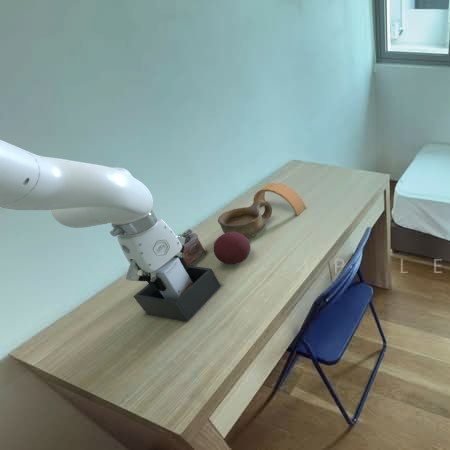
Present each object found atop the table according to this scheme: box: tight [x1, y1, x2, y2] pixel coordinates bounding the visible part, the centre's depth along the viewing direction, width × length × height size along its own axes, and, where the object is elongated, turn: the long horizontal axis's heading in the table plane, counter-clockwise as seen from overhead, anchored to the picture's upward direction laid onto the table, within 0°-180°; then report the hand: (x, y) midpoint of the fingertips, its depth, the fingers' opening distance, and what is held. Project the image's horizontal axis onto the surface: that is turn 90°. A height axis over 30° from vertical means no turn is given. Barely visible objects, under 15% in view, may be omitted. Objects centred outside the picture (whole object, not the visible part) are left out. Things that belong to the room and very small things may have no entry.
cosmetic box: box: [148, 258, 193, 301], centre depth 80 cm, size 6×4×12 cm
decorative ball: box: [212, 232, 251, 266], centre depth 94 cm, size 10×10×10 cm
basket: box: [132, 265, 222, 323], centre depth 82 cm, size 13×13×7 cm
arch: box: [252, 182, 306, 216], centre depth 119 cm, size 6×20×10 cm, turn 71°
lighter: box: [177, 228, 207, 266], centre depth 95 cm, size 8×3×10 cm, turn 171°
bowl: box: [217, 200, 273, 239], centre depth 108 cm, size 18×14×10 cm
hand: (172, 279), depth 79 cm, fingers closed on cosmetic box, 6 cm apart
